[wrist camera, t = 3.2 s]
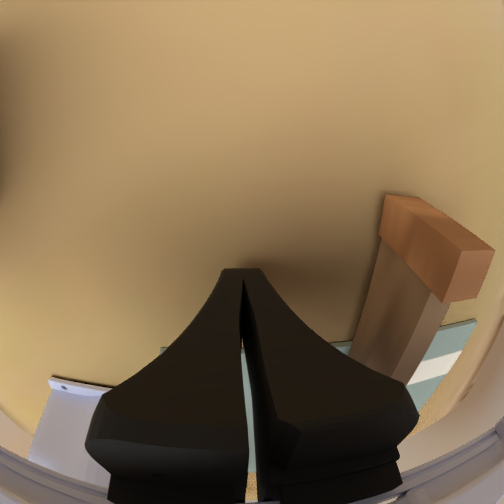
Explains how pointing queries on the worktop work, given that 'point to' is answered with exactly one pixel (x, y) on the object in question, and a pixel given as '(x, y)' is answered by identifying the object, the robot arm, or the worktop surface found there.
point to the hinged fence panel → (415, 284)
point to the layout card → (419, 386)
